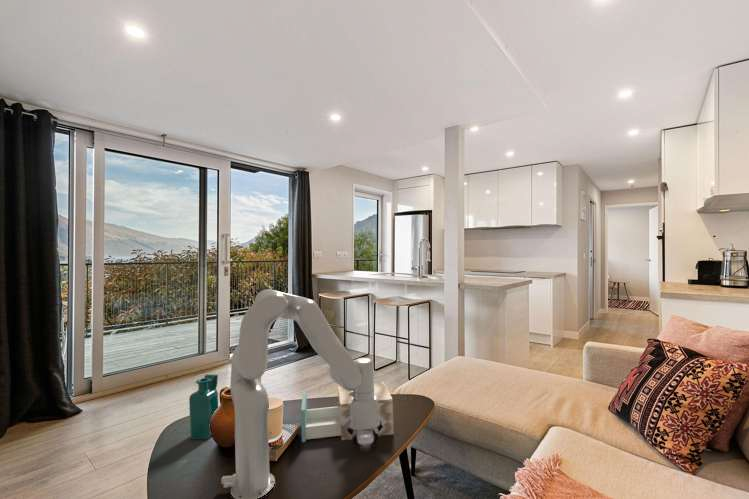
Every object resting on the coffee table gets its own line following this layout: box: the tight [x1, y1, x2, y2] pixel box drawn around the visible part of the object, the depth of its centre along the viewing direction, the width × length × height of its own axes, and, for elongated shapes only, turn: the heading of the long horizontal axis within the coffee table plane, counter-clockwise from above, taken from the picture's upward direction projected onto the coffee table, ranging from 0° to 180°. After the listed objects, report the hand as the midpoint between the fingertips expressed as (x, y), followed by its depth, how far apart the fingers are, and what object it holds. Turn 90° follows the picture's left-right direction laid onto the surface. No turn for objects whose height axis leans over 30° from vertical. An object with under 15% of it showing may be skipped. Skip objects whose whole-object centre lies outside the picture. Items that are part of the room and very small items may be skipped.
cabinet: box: [337, 381, 395, 441], centre depth 141 cm, size 20×18×14 cm
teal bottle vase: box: [188, 373, 219, 440], centre depth 139 cm, size 10×8×22 cm
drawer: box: [300, 390, 341, 443], centre depth 138 cm, size 20×18×12 cm
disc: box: [357, 431, 374, 445], centre depth 123 cm, size 6×6×2 cm
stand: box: [359, 443, 372, 454], centre depth 123 cm, size 4×4×4 cm
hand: (365, 444), depth 123 cm, fingers closed on disc, 6 cm apart
